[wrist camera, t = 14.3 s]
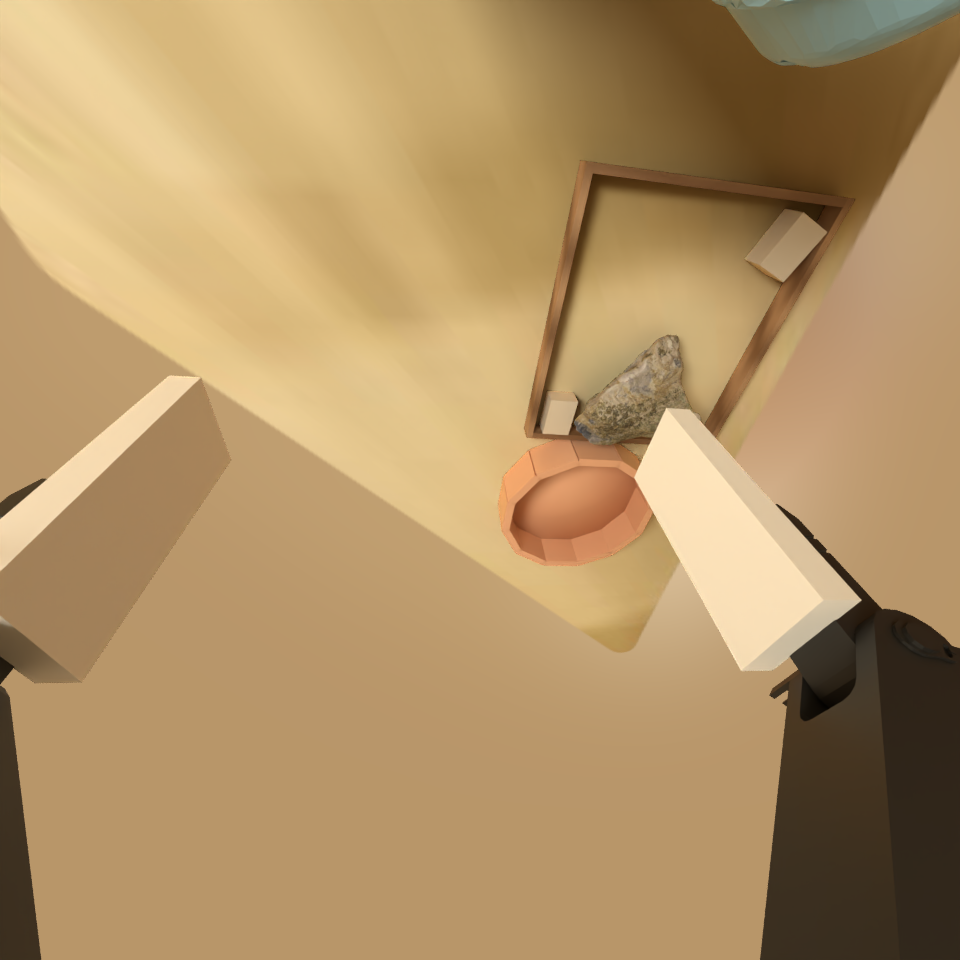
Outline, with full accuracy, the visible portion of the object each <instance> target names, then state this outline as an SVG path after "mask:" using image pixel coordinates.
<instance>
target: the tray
mask: <svg viewBox="0 0 960 960" xmlns="http://www.w3.org/2000/svg"><path fill="white" fill-rule="evenodd" d="M593 173H594V174H601V175H609V176H616V177H623V178H631V179H638V180H645V181H653V182H660V183H667V184H675V185H682V186H689V187H697V188H704V189H711V190H719V191H726V192H733V193H741V194H748V195H755V196H763V197H770V198H777V199H785V200H792V201H799V202H807V203H814V204H821V205H826V206H825V207H824V209H823V211H822V213H821V215H820V217H819V218H818V220H817V222H816V223H817V224H818V225H819V226H821V227H822V228H823V229H824V230H825V231H827V234H826V235H825V236H824V237H823V238H822V239H821V240H820V241H819V243H818V244H817V245H816V246H815V247H814V248H813V249H812V250H811V252H810V253H809V254H808V255H807V256H806V257H805V258H804V260H803V261H802V262H801V263H800V264H799V265H798V266H797V267H796V269H795V270H794V271H793V272H792V273H791V274H790V275H789V276H788V278H787V279H786V280H785V281H784V282H783V284H782V285H781V287H780V289H779V291H778V293H777V295H776V296H775V298H774V300H773V302H772V304H771V305H770V307H769V309H768V311H767V313H766V315H765V316H764V318H763V320H762V322H761V324H760V325H759V327H758V329H757V331H756V333H755V334H754V336H753V338H752V340H751V342H750V344H749V345H748V347H747V349H746V351H745V353H744V354H743V356H742V358H741V360H740V362H739V363H738V365H737V367H736V369H735V371H734V373H733V374H732V376H731V378H730V380H729V382H728V383H727V385H726V387H725V389H724V391H723V393H722V394H721V396H720V398H719V400H718V402H717V403H716V405H715V407H714V409H713V411H712V412H711V414H710V416H709V418H708V420H707V422H706V423H705V425H704V426H705V427H706V428H707V429H708V430H709V431H710V433H711V434H712V435H713V436H714V437H715V438H716V436H717V434H718V433H719V431H720V429H721V428H722V426H723V424H724V423H725V421H726V419H727V417H728V416H729V414H730V412H731V411H732V409H733V407H734V405H735V404H736V402H737V400H738V399H739V397H740V395H741V394H742V392H743V390H744V388H745V387H746V385H747V383H748V382H749V380H750V378H751V376H752V375H753V373H754V371H755V370H756V368H757V366H758V364H759V363H760V361H761V359H762V358H763V356H764V354H765V353H766V351H767V349H768V347H769V346H770V344H771V342H772V341H773V339H774V337H775V335H776V334H777V332H778V330H779V329H780V327H781V325H782V324H783V322H784V320H785V318H786V317H787V315H788V313H789V312H790V310H791V308H792V306H793V305H794V303H795V301H796V300H797V298H798V296H799V295H800V293H801V291H802V289H803V288H804V286H805V284H806V283H807V281H808V279H809V277H810V276H811V274H812V272H813V271H814V269H815V267H816V266H817V264H818V262H819V260H820V259H821V257H822V255H823V254H824V252H825V250H826V248H827V247H828V245H829V243H830V242H831V240H832V238H833V236H834V235H835V233H836V231H837V230H838V228H839V226H840V225H841V223H842V221H843V219H844V218H845V216H846V214H847V213H848V211H849V209H850V207H851V206H852V204H853V202H854V201H855V199H853V198H846V197H839V196H832V195H824V194H817V193H810V192H803V191H796V190H789V189H782V188H774V187H767V186H760V185H753V184H746V183H739V182H731V181H724V180H717V179H710V178H703V177H696V176H688V175H681V174H674V173H667V172H660V171H653V170H646V169H638V168H631V167H624V166H617V165H610V164H603V163H595V162H588V161H581V160H580V165H579V170H578V175H577V179H576V184H575V189H574V194H573V198H572V203H571V208H570V213H569V217H568V222H567V227H566V232H565V236H564V241H563V246H562V251H561V255H560V260H559V265H558V270H557V274H556V279H555V284H554V289H553V293H552V298H551V303H550V308H549V312H548V317H547V322H546V327H545V331H544V336H543V341H542V346H541V350H540V355H539V360H538V365H537V369H536V374H535V379H534V384H533V388H532V393H531V398H530V403H529V407H528V412H527V417H526V422H525V426H524V430H525V434H526V437H527V438H544V439H563V440H581V441H589V440H588V439H586V438H585V437H584V436H583V435H582V433H580V432H578V431H577V430H576V427H574V426H571V427H570V431H569V434H568V435H556V434H543V433H542V430H541V427H540V425H539V424H535V423H536V418H537V414H538V410H539V405H540V401H541V397H542V392H543V388H544V384H545V379H546V375H547V371H548V366H549V362H550V358H551V353H552V349H553V344H554V340H555V336H556V331H557V327H558V323H559V318H560V314H561V310H562V305H563V301H564V297H565V292H566V288H567V284H568V279H569V275H570V271H571V266H572V262H573V257H574V253H575V249H576V244H577V240H578V236H579V231H580V227H581V223H582V218H583V214H584V210H585V205H586V201H587V197H588V192H589V188H590V184H591V179H592V175H593ZM651 440H652V438H651V437H650V438H648V437H642V436H641V437H637V438H634V439H627V440H623V441H620V442H618V443H637V444H650V442H651Z"/></svg>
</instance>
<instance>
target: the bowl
mask: <svg viewBox="0 0 960 960" xmlns="http://www.w3.org/2000/svg"><path fill="white" fill-rule="evenodd" d="M640 464H641V463H640V462H639V460H638V458H637V457H636V455H635V454H633V453H632V452H630V451H629V450H627V449H626V448H624V447H623V446H622V445H620V444H619V443H615V444H612V445H594V444H592V443H590V442H589V441H581V440H563V439H556V440H553V441H551V442H548V443H546V444H543V445H540V446H538V447H535V448H533V449H530V451H527V452H526V453H525V454H524V455H523V457H522V458H521V459H520V460H519V461H518V462H517V463H516V464H515V465H514V466H513V467H512V468H511V469H510V470H509V471H508V472H507V473H506V474H505V475H504V477H503V481H502V486H501V491H500V497H499V502H498V508H499V515H500V522H501V529H502V532H503V534H504V536H505V537H506V539H507V540H508V542H509V544H510V545H511V547H512V549H513V550H514V552H515V553H516V554H518V555H520V556H523V557H525V558H527V559H530V560H532V561H534V562H536V563H539V564H541V565H547V566H577V565H578V566H579V565H582V564H586V563H589V562H592V561H595V560H599V559H602V558H605V557H608V556H612V554H613V555H614V554H615V553H616V552H618V551H619V550H621V549H622V548H623V547H625V546H626V545H627V544H629V543H630V542H632V541H633V540H634V539H636V538H637V537H639V536H640V535H641V534H642V532H643V531H644V529H645V527H646V525H647V523H648V521H649V520H650V518H651V516H652V514H653V511H652V509H651V507H650V505H649V504H648V502H647V500H646V498H645V496H644V495H643V493H642V491H641V489H640V487H639V486H638V484H637V482H636V480H635V478H634V477H635V474H636V472H637V470H638V468H639V466H640Z"/></svg>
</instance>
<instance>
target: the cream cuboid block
mask: <svg viewBox="0 0 960 960" xmlns="http://www.w3.org/2000/svg"><path fill="white" fill-rule="evenodd" d="M577 405H578V401H577V399H576V397H575V395H574V393H573V392H560V391H547V394H546V398H545V402H544V406H543V410H542V414H541V418H540V422H539V424H540V427H541V430H542V433H543V434H556V435H568V434H569V431H570V427H571V424H572V421H573V418H574V415H575V411H576V408H577Z"/></svg>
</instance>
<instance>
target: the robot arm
mask: <svg viewBox="0 0 960 960" xmlns="http://www.w3.org/2000/svg"><path fill="white" fill-rule="evenodd" d="M712 1H713V2H714V3H716V4H718V5H721V6H724V7H726V8H727V10H728V11H729V12H730V14H731V15H732V17H733V18H734V19H735V21H736V22H737V23H738V25H739V26H740V27H741V29H742V30H743V32H744V33H745V34H746V36H747V37H748V38H749V40H750V41H751V42H752V44H753V45H754V46H755V48H756V49H757V50H758V51H759V53H760V54H761V55H763V56H764V57H765V58H767V59H768V60H770V61H772V62H774V63H776V64H778V65H782V66H786V65H800V66H808V67H811V68H815V67H824V66H830V65H835V64H839V63H842V62H846V61H850V60H854V59H857V58H860V57H863V56H866V55H869V54H872V53H875V52H877V51H880V50H883V49H885V48H887V47H890V46H892V45H895V44H897V43H900V42H902V41H904V40H906V39H908V38H911V37H913V36H915V35H917V34H919V33H921V32H923V31H925V30H927V29H929V28H931V27H933V26H935V25H937V24H939V23H941V22H943V21H945V20H947V19H949V18H951V17H953V16H955V15H957V14H958V13H960V0H712ZM230 461H231V458H230V455H229V452H228V450H227V447H226V444H225V442H224V439H223V436H222V433H221V431H220V428H219V425H218V423H217V420H216V417H215V415H214V412H213V409H212V406H211V404H210V401H209V398H208V396H207V393H206V390H205V387H204V385H203V382H202V379H201V377H186V376H171V375H170V376H168V377H167V378H166V379H165V380H163V381H162V382H161V383H160V384H159V385H158V386H157V387H155V388H154V389H153V390H152V391H150V392H149V393H148V394H147V395H146V396H145V397H143V398H142V399H141V400H140V401H139V402H138V403H136V404H135V405H134V406H133V407H132V408H131V409H129V410H128V411H127V412H126V413H125V414H124V415H122V416H121V417H120V418H119V419H118V420H116V421H115V422H114V423H113V424H112V425H110V426H109V427H108V428H107V429H106V430H105V431H103V432H102V433H101V434H100V435H99V436H98V437H96V438H95V439H94V440H93V441H92V442H90V443H89V444H88V445H87V446H86V447H85V448H84V449H82V450H81V451H80V452H79V453H78V454H76V455H75V456H74V457H73V458H72V459H71V460H69V461H68V462H67V463H66V464H65V465H63V466H62V467H61V468H60V469H59V470H58V471H56V472H55V473H54V474H53V475H52V476H51V477H49V478H48V479H40V480H38V481H36V482H34V483H32V484H31V485H29V486H27V487H25V488H23V489H21V490H19V491H17V492H15V493H13V494H11V495H10V496H8V497H7V498H6V499H5V500H3V501H2V502H1V503H0V684H1V683H2V681H3V680H4V679H5V678H6V677H7V675H8V674H9V673H10V672H11V670H12V669H13V668H14V669H16V670H17V671H18V672H20V673H21V674H23V675H24V676H25V677H27V678H28V679H30V680H31V681H32V682H34V683H73V682H74V683H77V682H83V680H84V679H85V677H86V675H87V674H88V673H89V671H90V670H91V668H92V667H93V665H94V664H95V662H96V661H97V659H98V658H99V656H100V655H101V653H102V652H103V650H104V649H105V647H106V646H107V644H108V643H109V641H110V640H111V638H112V637H113V635H114V634H115V633H116V631H117V629H118V628H119V627H120V625H121V624H122V622H123V621H124V619H125V617H126V616H127V615H128V613H129V612H130V610H131V609H132V607H133V605H134V604H135V603H136V601H137V600H138V598H139V597H140V595H141V594H142V592H143V591H144V589H145V588H146V586H147V585H148V583H149V582H150V580H151V579H152V577H153V576H154V575H155V573H156V571H157V570H158V568H159V567H160V565H161V564H162V563H163V561H164V560H165V558H166V557H167V555H168V554H169V552H170V551H171V549H172V548H173V546H174V545H175V543H176V542H177V540H178V539H179V537H180V536H181V534H182V533H183V531H184V530H185V528H186V527H187V525H188V524H189V522H190V521H191V519H192V518H193V516H194V515H195V513H196V512H197V511H198V509H199V508H200V506H201V504H202V503H203V502H204V500H205V499H206V497H207V496H208V494H209V493H210V491H211V490H212V488H213V487H214V485H215V484H216V482H217V481H218V479H219V478H220V476H221V475H222V473H223V472H224V470H225V469H226V467H227V466H228V464H229V463H230ZM634 478H635V480H636V482H637V484H638V486H639V487H640V489H641V491H642V493H643V495H644V496H645V498H646V500H647V502H648V504H649V505H650V507H651V509H652V511H653V513H654V514H655V516H656V518H657V520H658V522H659V524H660V525H661V527H662V529H663V531H664V533H665V534H666V536H667V538H668V540H669V542H670V543H671V545H672V547H673V549H674V551H675V552H676V554H677V556H678V558H679V560H680V561H681V563H682V565H683V567H684V569H685V570H686V572H687V574H688V576H689V578H690V579H691V581H692V583H693V585H694V586H695V588H696V590H697V592H698V594H699V596H700V597H701V599H702V601H703V603H704V605H705V606H706V608H707V610H708V612H709V614H710V615H711V617H712V619H713V621H714V623H715V624H716V626H717V628H718V630H719V631H720V634H721V635H722V637H723V639H724V641H725V643H726V644H727V646H728V648H729V650H730V652H731V653H732V655H733V657H734V659H735V661H736V662H737V664H738V666H739V668H740V670H741V671H762V670H763V671H767V670H774V669H775V668H776V667H778V666H779V665H780V664H781V663H782V662H784V661H785V660H786V659H788V658H789V657H791V659H792V660H793V662H794V663H795V665H796V666H797V668H798V670H797V671H796V672H794V673H793V674H792V675H790V676H789V677H788V678H786V679H785V680H784V681H782V682H781V683H779V684H778V685H777V686H775V687H774V688H773V689H772V691H771V693H770V696H771V697H773V698H774V699H775V698H776V697H778V696H779V695H781V694H782V693H784V692H785V691H786V690H788V691H789V692H788V699H787V700H785V701H784V702H783V704H784V705H786V706H787V710H786V720H785V729H784V739H783V748H782V758H781V767H780V777H779V786H778V795H777V805H776V814H775V824H774V833H773V843H772V853H771V862H770V871H769V881H768V890H767V901H766V909H765V919H764V929H763V938H762V947H761V957H760V960H960V648H957V647H953V646H951V645H950V643H949V642H948V641H947V640H946V639H945V638H944V637H943V636H941V635H940V634H939V633H938V632H936V631H935V630H934V629H933V628H932V627H930V626H928V625H927V624H926V623H923V622H922V621H920V620H919V619H917V618H915V617H913V616H911V615H908V614H906V613H903V612H900V611H897V610H890V609H881V607H879V606H878V604H877V603H876V602H875V601H874V600H873V599H872V598H871V597H870V596H869V595H868V594H867V593H866V592H865V590H864V589H863V588H862V587H861V586H860V585H859V584H858V583H857V582H856V581H855V580H854V579H853V578H852V576H851V575H850V574H849V573H848V572H847V571H846V570H845V569H844V568H843V567H842V566H841V565H840V563H839V562H838V561H837V560H836V559H835V558H834V557H833V556H832V555H831V554H830V553H826V550H827V549H826V548H825V547H824V546H823V545H822V544H821V543H820V542H819V541H818V540H817V539H814V538H813V537H814V535H812V533H811V532H810V531H809V530H808V529H807V528H806V527H805V526H804V525H803V524H802V522H800V520H799V519H797V518H796V517H795V516H793V515H792V514H790V513H789V512H788V511H786V510H785V509H783V508H782V507H781V506H779V505H778V504H774V503H773V501H772V500H771V499H770V498H769V497H768V496H767V495H766V494H765V493H764V491H763V490H762V489H761V488H760V487H759V486H758V485H757V484H756V483H755V481H754V480H753V479H752V478H751V477H750V476H749V475H748V474H747V473H746V471H744V469H743V468H742V467H741V466H740V465H739V464H738V463H737V461H736V460H735V459H734V458H733V457H732V456H731V455H730V454H729V453H728V451H727V450H726V449H725V448H724V447H723V446H722V445H721V444H720V443H719V441H718V440H717V439H716V438H715V437H714V436H713V435H712V434H711V433H710V431H709V430H708V429H707V428H706V427H705V426H704V425H703V424H702V423H701V421H700V420H699V419H698V418H697V417H696V416H695V415H694V414H693V413H692V411H691V410H688V409H673V408H666V410H665V412H664V414H663V416H662V418H661V421H660V423H659V425H658V427H657V429H656V431H655V433H654V436H653V438H652V440H651V442H650V444H649V446H648V449H647V451H646V453H645V455H644V457H643V459H642V462H641V464H640V466H639V468H638V470H637V472H636V474H635V477H634ZM0 960H41V954H40V946H39V938H38V929H37V921H36V913H35V905H34V896H33V888H32V879H31V871H30V864H29V855H28V846H27V838H26V830H25V822H24V813H23V805H22V796H21V788H20V780H19V772H18V763H17V755H16V747H15V739H14V731H13V722H12V713H11V705H10V697H9V695H8V694H7V692H6V690H5V689H4V688H3V687H2V686H0Z"/></svg>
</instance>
